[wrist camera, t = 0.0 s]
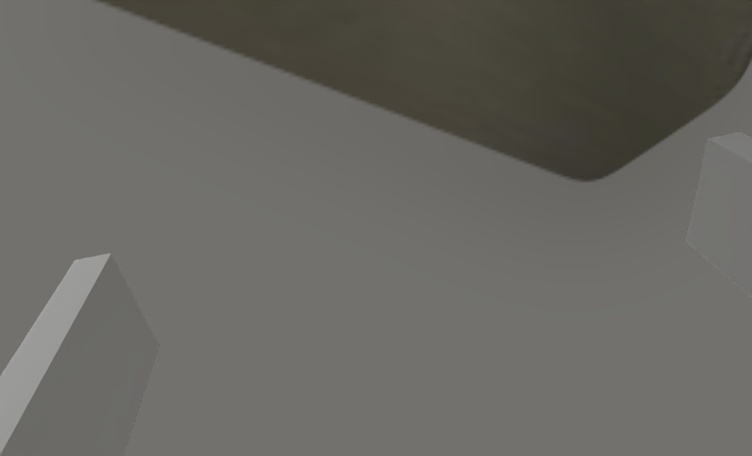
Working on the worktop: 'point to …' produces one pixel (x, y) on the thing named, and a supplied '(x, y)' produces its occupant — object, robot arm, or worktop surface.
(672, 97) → the worktop surface
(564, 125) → the worktop surface
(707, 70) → the worktop surface
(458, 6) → the worktop surface
